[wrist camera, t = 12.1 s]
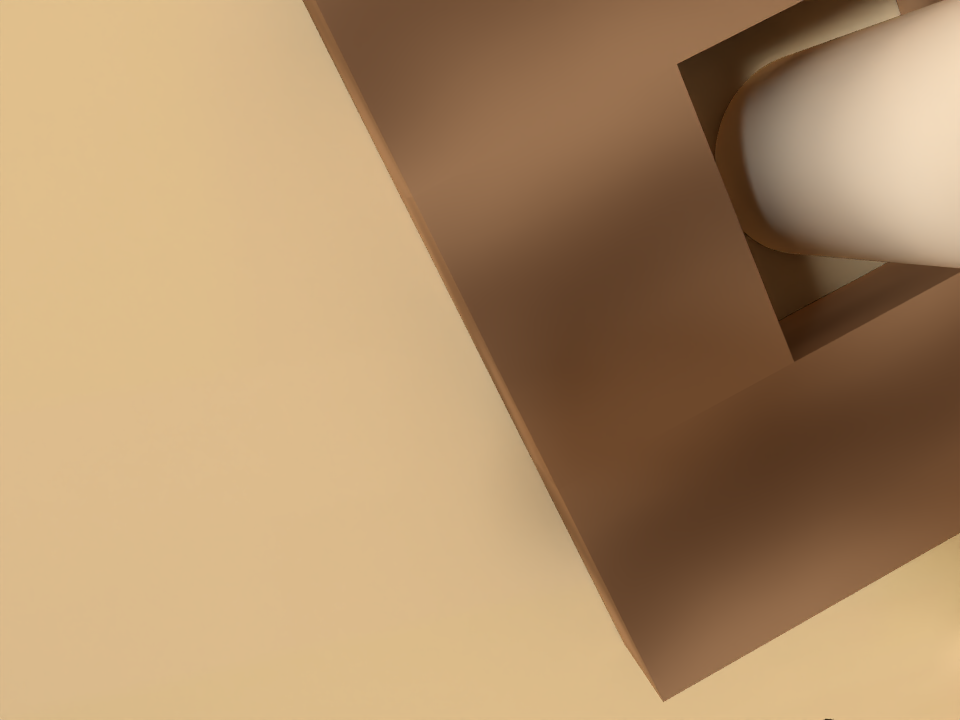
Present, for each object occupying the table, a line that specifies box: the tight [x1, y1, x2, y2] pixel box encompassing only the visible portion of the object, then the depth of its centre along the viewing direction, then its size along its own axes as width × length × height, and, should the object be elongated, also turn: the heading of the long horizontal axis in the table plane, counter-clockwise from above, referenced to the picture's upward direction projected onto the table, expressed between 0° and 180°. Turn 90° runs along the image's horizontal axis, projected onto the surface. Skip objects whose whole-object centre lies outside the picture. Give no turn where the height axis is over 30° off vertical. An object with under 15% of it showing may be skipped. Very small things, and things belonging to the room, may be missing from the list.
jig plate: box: [303, 0, 960, 702], centre depth 18 cm, size 18×17×2 cm
